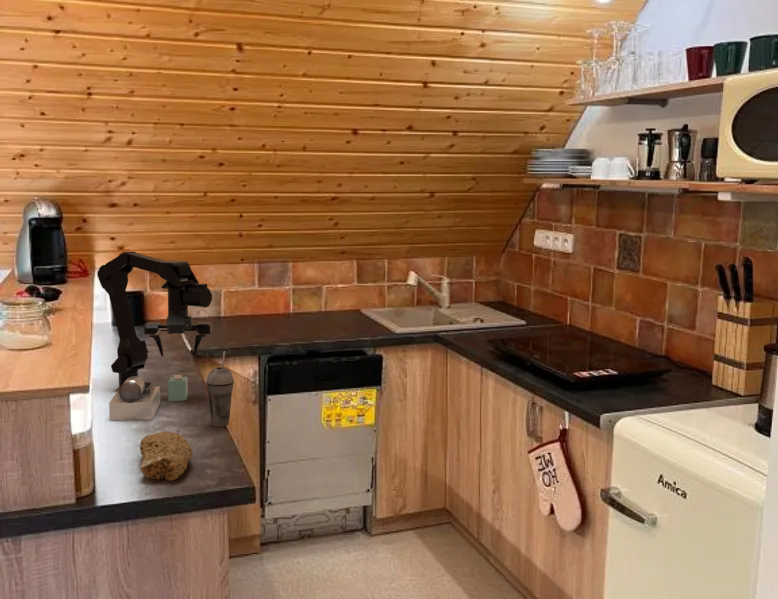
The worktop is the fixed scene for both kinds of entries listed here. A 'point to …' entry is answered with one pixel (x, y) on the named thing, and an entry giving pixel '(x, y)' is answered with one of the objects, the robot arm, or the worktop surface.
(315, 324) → the worktop surface
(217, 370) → the beverage cup
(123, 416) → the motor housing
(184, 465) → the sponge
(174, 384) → the green block with knob
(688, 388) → the worktop surface
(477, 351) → the worktop surface
